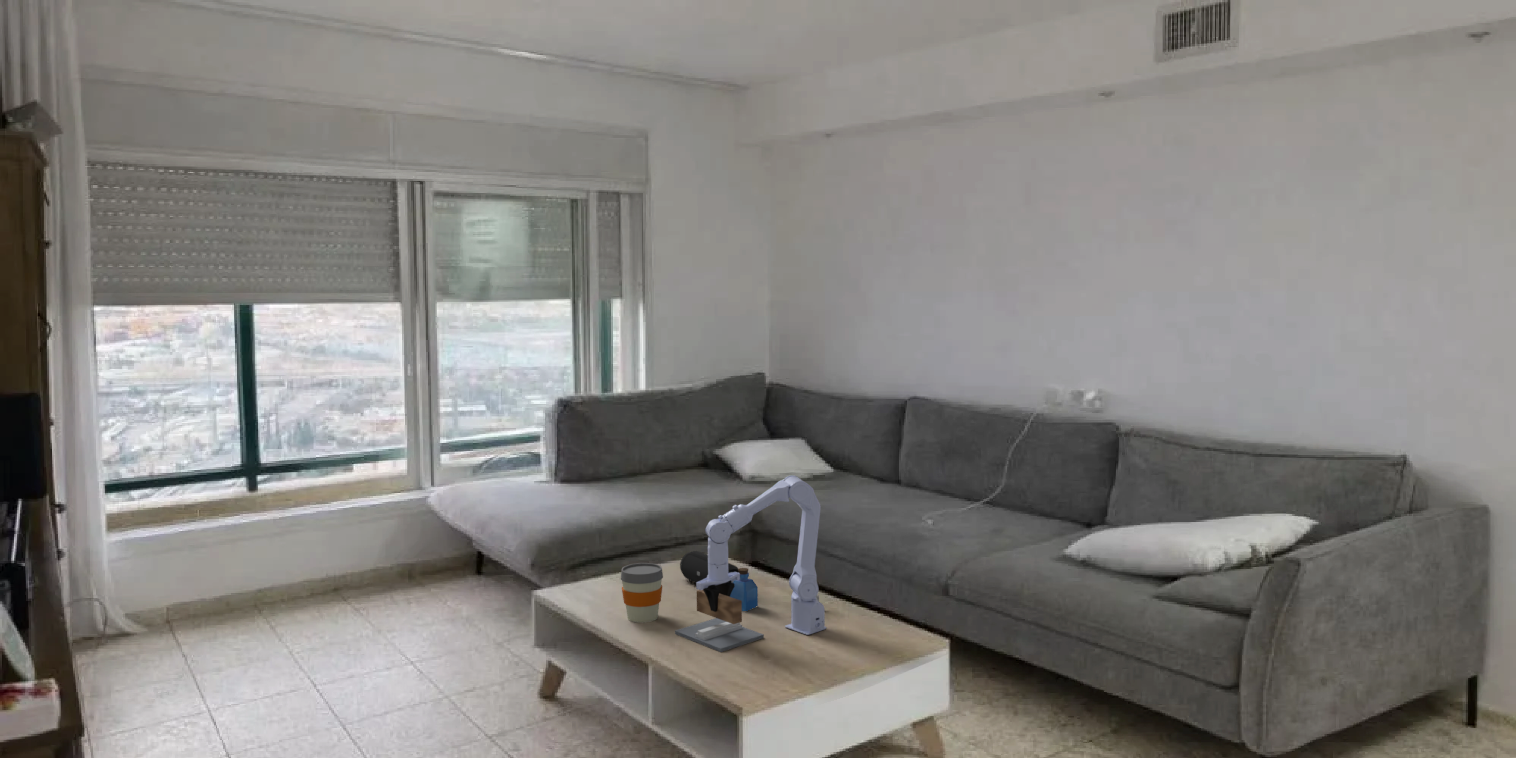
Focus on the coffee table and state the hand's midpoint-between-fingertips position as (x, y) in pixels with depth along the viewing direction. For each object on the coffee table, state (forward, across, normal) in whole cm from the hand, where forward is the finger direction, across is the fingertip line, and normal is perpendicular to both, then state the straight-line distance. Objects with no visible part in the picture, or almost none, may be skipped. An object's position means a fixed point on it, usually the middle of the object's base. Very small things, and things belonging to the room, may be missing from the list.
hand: (718, 609), depth 294 cm
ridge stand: (+8, 0, 0) cm, 8 cm away
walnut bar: (+2, 0, 0) cm, 2 cm away
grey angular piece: (+8, -34, +2) cm, 35 cm away
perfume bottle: (+8, -22, -14) cm, 27 cm away
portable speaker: (+8, -28, -37) cm, 47 cm away
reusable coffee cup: (+8, +6, -28) cm, 30 cm away
